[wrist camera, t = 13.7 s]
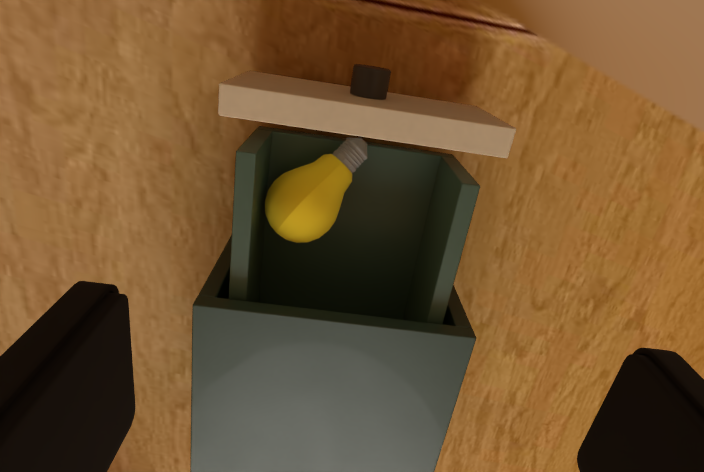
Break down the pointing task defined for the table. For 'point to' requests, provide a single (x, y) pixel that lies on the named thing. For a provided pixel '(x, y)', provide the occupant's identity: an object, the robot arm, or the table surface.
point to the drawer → (357, 194)
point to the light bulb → (313, 193)
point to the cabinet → (319, 385)
